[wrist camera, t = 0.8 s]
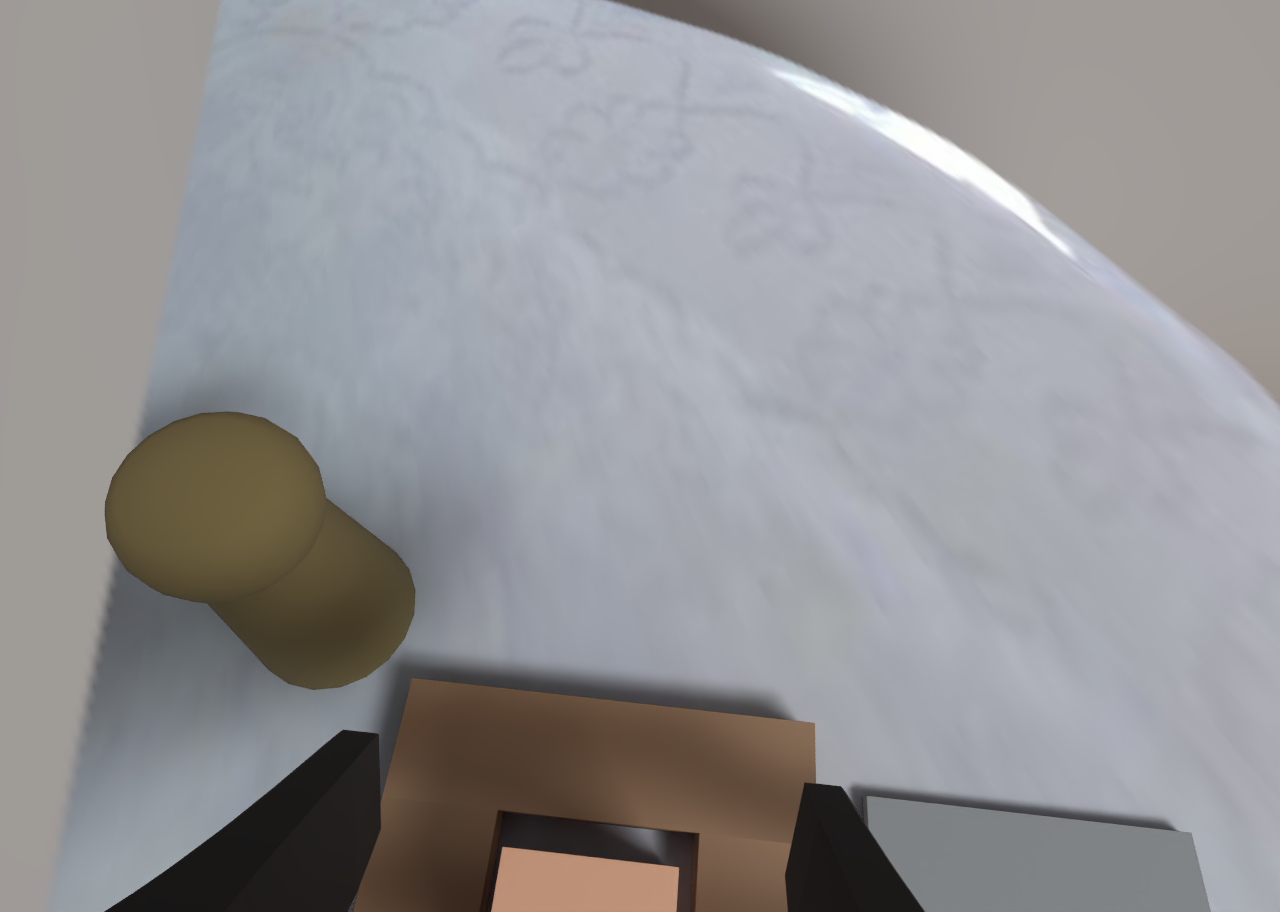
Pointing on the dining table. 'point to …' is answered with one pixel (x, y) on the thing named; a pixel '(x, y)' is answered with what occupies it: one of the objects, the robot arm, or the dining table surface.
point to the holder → (582, 790)
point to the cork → (260, 547)
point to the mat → (1033, 861)
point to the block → (581, 884)
